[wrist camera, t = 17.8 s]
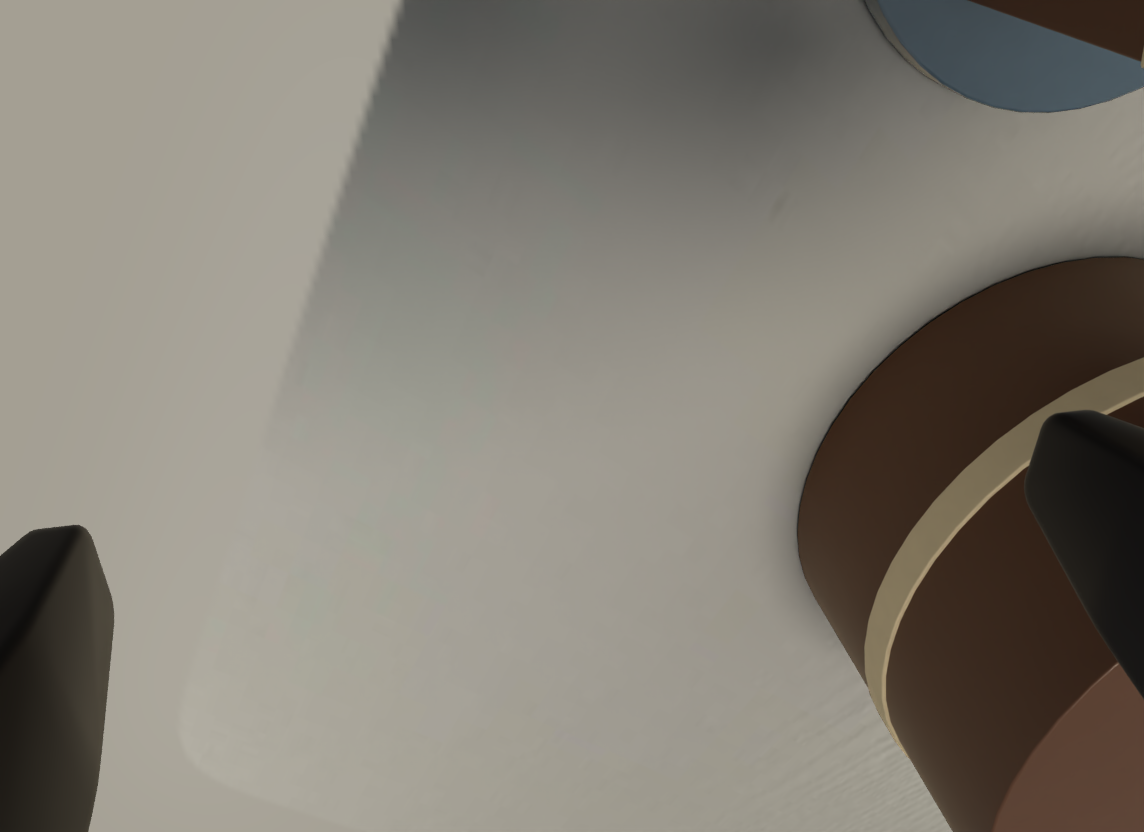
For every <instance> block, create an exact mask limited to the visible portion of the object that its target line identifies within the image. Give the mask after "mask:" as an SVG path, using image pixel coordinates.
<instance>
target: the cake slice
mask: <svg viewBox="0 0 1144 832" xmlns="http://www.w3.org/2000/svg"><path fill="white" fill-rule="evenodd" d="M968 1H971V2H973V3H976V4H979V5H982V6H985V7H988V8H990V9H993V10H996V11H999V12H1002V13H1004V14H1007V15H1010V16H1013V17H1016V18H1019V19H1021V20H1024V21H1027V22H1030V23H1033V24H1036V25H1038V26H1041V27H1044V28H1047V29H1050V30H1052V31H1055V32H1058V33H1061V34H1064V35H1067V36H1069V37H1072V38H1075V39H1078V40H1081V41H1084V42H1086V43H1089V44H1092V45H1095V46H1098V47H1100V48H1103V49H1106V50H1109V51H1112V52H1115V53H1117V54H1120V55H1123V56H1126V57H1129V58H1132V59H1134V60H1137V61H1140V62H1141V67H1142V68H1144V0H968Z"/></svg>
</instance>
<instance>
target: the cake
mask: <svg viewBox="0 0 1144 832" xmlns="http://www.w3.org/2000/svg"><path fill="white" fill-rule="evenodd" d="M1077 410H1094V411H1097V412H1100V413H1103V414H1106V415H1108V416H1111V417H1114V418H1117V419H1120V420H1122V421H1125V422H1128V423H1131V424H1133V425H1136V426H1139V427H1142V428H1144V260H1143V259H1135V258H1128V257H1114V258H1090V259H1083V260H1077V261H1070V262H1063V263H1059V264H1055V265H1052V266H1048V267H1044V268H1041V269H1037V270H1033V271H1030V272H1027V273H1024V274H1022V275H1019V276H1017V277H1014V278H1012V279H1009V280H1006V281H1004V282H1001V283H999V284H996V285H994V286H992V287H990V288H988V289H986V290H984V291H982V292H980V293H978V294H977V295H975V296H973V297H971V298H969V299H967V300H965V301H963V302H961V303H960V304H958V305H956V306H955V307H953V308H952V309H950V310H949V311H947V312H946V313H944V314H943V315H941V316H939V317H938V318H936V319H935V320H933V321H932V322H930V323H929V324H928V325H926V326H925V327H924V328H923V329H921V330H920V331H919V332H917V333H916V334H915V335H914V336H912V337H911V338H910V339H909V340H907V341H906V342H905V343H904V344H902V345H901V346H900V347H899V348H898V349H897V350H896V351H895V352H894V353H893V354H892V355H890V356H889V357H888V358H887V359H886V360H885V361H884V362H883V363H882V364H881V365H880V366H879V367H878V368H877V369H876V370H875V371H874V372H873V373H872V374H871V375H870V377H869V378H868V379H867V380H866V381H865V382H864V384H863V385H862V386H861V387H860V388H859V389H858V391H857V392H856V393H855V394H854V395H853V396H852V398H851V399H850V400H849V402H848V403H847V405H846V406H845V408H844V409H843V410H842V412H841V413H840V415H839V416H838V418H837V419H836V421H835V422H834V424H833V425H832V427H831V428H830V430H829V432H828V434H827V436H826V438H825V440H824V441H823V443H822V445H821V447H820V449H819V451H818V453H817V455H816V457H815V460H814V462H813V465H812V468H811V470H810V473H809V475H808V478H807V480H806V484H805V488H804V492H803V496H802V500H801V505H800V511H799V522H798V545H799V557H800V561H801V564H802V568H803V572H804V576H805V579H806V581H807V583H808V585H809V587H810V589H811V591H812V593H813V595H814V597H815V599H816V600H817V602H818V604H819V606H820V607H821V609H822V611H823V612H824V614H825V616H826V617H827V619H828V621H829V622H830V624H831V626H832V628H833V629H834V631H835V633H836V634H837V636H838V638H839V639H840V641H841V643H842V645H843V646H844V648H845V650H846V651H847V653H848V655H849V656H850V658H851V660H852V661H853V663H854V665H855V667H856V668H857V670H858V672H859V673H860V675H861V677H862V678H863V680H864V682H865V684H866V685H867V687H868V689H869V693H870V696H871V698H872V700H873V702H874V704H875V706H876V709H877V711H878V713H879V715H880V716H881V718H882V720H883V722H884V723H885V725H886V727H887V728H888V730H889V732H890V734H891V735H892V737H893V739H894V740H895V742H896V743H897V744H898V746H899V747H900V748H901V749H902V751H903V752H904V753H905V755H906V756H907V757H908V758H909V759H910V760H911V761H912V763H913V765H914V767H915V768H916V770H917V772H918V773H919V775H920V777H921V778H922V780H923V782H924V784H925V785H926V787H927V789H928V790H929V792H930V794H931V795H932V797H933V799H934V800H935V802H936V804H937V806H938V807H939V809H940V811H941V812H942V814H943V816H944V817H945V819H946V821H947V823H948V824H949V826H950V828H951V829H952V831H953V832H1144V699H1143V698H1142V696H1141V695H1140V693H1139V692H1138V690H1137V689H1136V688H1135V686H1134V685H1133V683H1132V682H1131V680H1130V679H1129V677H1128V676H1127V674H1126V673H1125V671H1124V670H1123V668H1122V667H1121V666H1120V664H1119V663H1118V661H1117V660H1116V658H1115V657H1114V655H1113V654H1112V652H1111V651H1110V649H1109V648H1108V646H1107V645H1106V643H1105V642H1104V640H1103V639H1102V637H1101V636H1100V634H1099V632H1098V631H1097V629H1096V628H1095V626H1094V624H1093V623H1092V621H1091V619H1090V617H1089V616H1088V614H1087V612H1086V610H1085V609H1084V607H1083V605H1082V603H1081V601H1080V600H1079V598H1078V596H1077V594H1076V592H1075V590H1074V589H1073V587H1072V585H1071V583H1070V581H1069V579H1068V578H1067V576H1066V574H1065V572H1064V570H1063V568H1062V567H1061V565H1060V563H1059V561H1058V559H1057V557H1056V556H1055V554H1054V552H1053V550H1052V548H1051V546H1050V545H1049V543H1048V541H1047V539H1046V537H1045V535H1044V534H1043V532H1042V530H1041V528H1040V526H1039V524H1038V523H1037V521H1036V519H1035V517H1034V515H1033V513H1032V511H1031V510H1030V508H1029V506H1028V504H1027V501H1026V497H1025V492H1024V480H1025V476H1026V473H1027V470H1028V467H1029V463H1030V460H1031V457H1032V454H1033V451H1034V448H1035V445H1036V442H1037V439H1038V436H1039V432H1040V429H1041V427H1042V424H1043V423H1044V421H1045V420H1046V419H1047V418H1048V417H1049V416H1051V415H1053V414H1055V413H1060V412H1069V411H1077Z"/></svg>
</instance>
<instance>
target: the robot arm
mask: <svg viewBox="0 0 1144 832" xmlns="http://www.w3.org/2000/svg"><path fill="white" fill-rule="evenodd" d="M1024 492H1025V497H1026V501H1027V504H1028V506H1029V508H1030V510H1031V511H1032V513H1033V515H1034V517H1035V519H1036V521H1037V523H1038V524H1039V526H1040V528H1041V530H1042V532H1043V534H1044V535H1045V537H1046V539H1047V541H1048V543H1049V545H1050V546H1051V548H1052V550H1053V552H1054V554H1055V556H1056V557H1057V559H1058V561H1059V563H1060V565H1061V567H1062V568H1063V570H1064V572H1065V574H1066V576H1067V578H1068V579H1069V581H1070V583H1071V585H1072V587H1073V589H1074V590H1075V592H1076V594H1077V596H1078V598H1079V600H1080V601H1081V603H1082V605H1083V607H1084V609H1085V610H1086V612H1087V614H1088V616H1089V617H1090V619H1091V621H1092V623H1093V624H1094V626H1095V628H1096V629H1097V631H1098V632H1099V634H1100V636H1101V637H1102V639H1103V640H1104V642H1105V643H1106V645H1107V646H1108V648H1109V649H1110V651H1111V652H1112V654H1113V655H1114V657H1115V658H1116V660H1117V661H1118V663H1119V664H1120V666H1121V667H1122V668H1123V670H1124V671H1125V673H1126V674H1127V676H1128V677H1129V679H1130V680H1131V682H1132V683H1133V685H1134V686H1135V688H1136V689H1137V690H1138V692H1139V693H1140V695H1141V696H1142V698H1143V699H1144V428H1142V427H1139V426H1136V425H1133V424H1131V423H1128V422H1125V421H1122V420H1120V419H1117V418H1114V417H1111V416H1108V415H1106V414H1103V413H1100V412H1097V411H1094V410H1077V411H1069V412H1060V413H1055V414H1053V415H1051V416H1049V417H1048V418H1047V419H1046V420H1045V421H1044V423H1043V424H1042V427H1041V429H1040V432H1039V436H1038V439H1037V442H1036V445H1035V448H1034V451H1033V454H1032V457H1031V460H1030V463H1029V467H1028V470H1027V473H1026V476H1025V480H1024ZM113 629H114V608H113V601H112V597H111V593H110V590H109V588H108V584H107V581H106V578H105V575H104V573H103V569H102V567H101V563H100V560H99V558H98V554H97V551H96V548H95V545H94V542H93V540H92V537H91V535H90V534H89V532H88V531H87V529H85V528H84V527H82V526H80V525H71V526H61V527H53V528H44V529H37V530H33V531H31V532H29V533H28V534H26V535H25V536H23V537H22V538H21V539H20V540H19V541H17V542H16V543H15V544H14V545H13V546H11V547H10V548H9V549H8V550H7V551H5V552H4V553H3V554H2V555H1V556H0V832H88V830H89V825H90V821H91V817H92V812H93V807H94V802H95V797H96V791H97V786H98V779H99V771H100V763H101V762H100V761H101V754H102V743H103V733H104V732H103V731H104V723H105V712H106V702H107V691H108V681H109V671H110V660H111V650H112V640H113Z"/></svg>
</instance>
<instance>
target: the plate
mask: <svg viewBox="0 0 1144 832" xmlns="http://www.w3.org/2000/svg"><path fill="white" fill-rule="evenodd" d="M865 1H866V4H867V6H868V8H869V10H870V12H871V14H872V15H873V17H874V19H875V20H876V22H877V23H878V25H879V27H880V28H881V30H882V32H883V33H884V35H885V36H886V38H887V39H888V40H889V41H890V42H891V43H892V44H893V46H894V47H895V48H896V49H897V50H898V51H899V53H900V54H901V55H902V56H903V57H904V58H905V59H906V60H907V61H908V62H909V63H911V64H912V65H913V66H914V67H915V68H917V69H918V70H919V71H920V72H922V73H923V74H924V75H925V76H926V77H928V78H930V79H932V80H933V81H935V82H937V83H939V84H940V85H942V86H944V87H946V88H948V89H949V90H951V91H953V92H955V93H957V94H959V95H961V96H963V97H965V98H967V99H970V100H973V101H976V102H978V103H981V104H984V105H987V106H990V107H993V108H998V109H1004V110H1010V111H1015V112H1031V113H1051V112H1059V111H1067V110H1074V109H1080V108H1084V107H1088V106H1092V105H1096V104H1099V103H1103V102H1107V101H1110V100H1113V99H1115V98H1118V97H1120V96H1123V95H1125V94H1128V93H1130V92H1133V91H1136V90H1138V89H1140V88H1142V87H1144V68H1142V67H1141V62H1140V61H1137V60H1134V59H1132V58H1129V57H1126V56H1123V55H1120V54H1117V53H1115V52H1112V51H1109V50H1106V49H1103V48H1100V47H1098V46H1095V45H1092V44H1089V43H1086V42H1084V41H1081V40H1078V39H1075V38H1072V37H1069V36H1067V35H1064V34H1061V33H1058V32H1055V31H1052V30H1050V29H1047V28H1044V27H1041V26H1038V25H1036V24H1033V23H1030V22H1027V21H1024V20H1021V19H1019V18H1016V17H1013V16H1010V15H1007V14H1004V13H1002V12H999V11H996V10H993V9H990V8H988V7H985V6H982V5H979V4H976V3H973V2H971V1H968V0H865Z"/></svg>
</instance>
